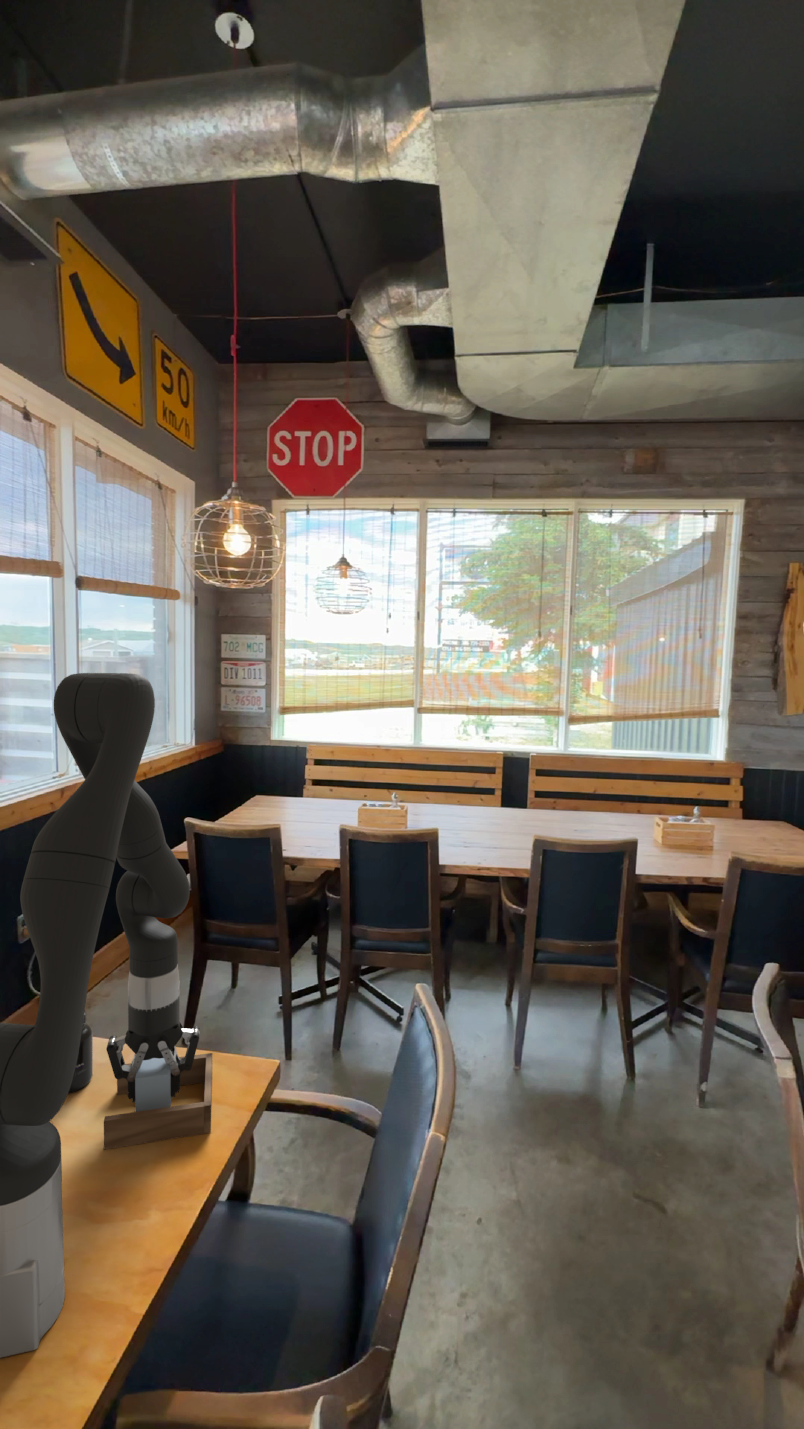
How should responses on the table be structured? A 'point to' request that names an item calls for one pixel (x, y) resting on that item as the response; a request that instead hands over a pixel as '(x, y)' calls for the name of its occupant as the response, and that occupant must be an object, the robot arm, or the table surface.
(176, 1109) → the brown three-sided frame
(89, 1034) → the supplement bottle
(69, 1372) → the table surface
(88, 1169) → the table surface
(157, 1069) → the slate block
